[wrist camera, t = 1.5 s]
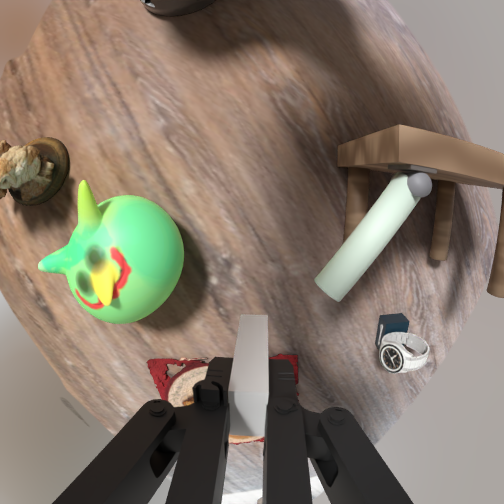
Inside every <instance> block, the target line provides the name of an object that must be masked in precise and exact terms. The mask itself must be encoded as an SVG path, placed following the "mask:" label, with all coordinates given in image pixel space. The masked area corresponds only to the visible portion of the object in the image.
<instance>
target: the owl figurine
mask: <svg viewBox="0 0 504 504" xmlns="http://www.w3.org/2000/svg"><path fill="white" fill-rule="evenodd" d="M68 158H69V157H68V153H67V150H66V148H65V146H64V144H63V143H62V142H61V141H59V140H57V139H55V138H50V137H45V138H38V139H35V140H33V141H31V142H29V143H28V144H26V145H25V146H20V145H19V146H14V147H11V146H10V145H9V144H8V143H6V140H1V141H0V199H1V198H3V197H5V195H6V193H7V188H8V190H9V192H10V194H11V196H12V197H13V198H14V199H15V200H16V201H17V202H18V203H20V204H22V205H29V206H31V205H38V204H40V203H42V202H45V201H47V200H48V199H49V198H51V197H52V196H53V195H54V194H55V193H56V192H57V191H58V190H59V188H60V187H61V186H62V184H63V182H64V178H65V176H67V173H68V167H69V162H68V161H69V159H68ZM26 203H27V204H26Z"/></svg>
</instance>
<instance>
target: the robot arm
mask: <svg viewBox="0 0 504 504" xmlns="http://www.w3.org/2000/svg"><path fill="white" fill-rule="evenodd" d="M140 1H141V2H142V4H143V5H144V6H145V7H146V8H147V9H148V10H149V11H151V12H152V13H155V14H158V15H163V16H178V15H184V14H188V13H192V12H195V11H197V10H200V9H202V8H204V7H206V6H208V5H210V4H211V3H213V2H214V1H215V0H140ZM192 390H193V399H194V403H192V404H190V405H187V406H181V407H174V406H173V405H172V404H171V403H170V402H168V401H166V400H161V399H155V400H151V401H148V402H147V403H145V404H144V405H143V406H142V407H141V408H140V409H139V411H138V412H137V413H136V414H135V415H134V416H133V417H132V418H131V419H130V420H129V422H128V423H127V424H126V425H125V426H124V427H123V428H122V429H121V430H120V431H119V433H118V434H117V435H116V436H115V437H114V438H113V439H112V440H111V442H109V444H108V445H107V446H106V447H105V448H104V449H103V450H102V451H101V452H100V453H99V454H98V456H97V457H96V458H95V459H94V460H93V461H92V462H91V463H90V464H89V465H88V466H87V467H86V468H85V469H84V470H83V471H82V473H81V474H80V475H79V476H78V477H77V478H76V479H75V480H74V481H73V482H72V483H71V484H70V485H69V486H68V487H67V489H66V490H65V491H64V492H63V493H62V494H61V495H60V496H59V497H58V498H57V499H56V500H55V501H54V502H53V503H52V504H148V502H149V501H150V499H151V498H152V497H153V495H154V494H155V492H156V491H157V489H158V488H159V486H160V485H161V483H162V482H163V480H164V479H165V477H166V476H167V474H168V473H169V471H170V470H171V468H172V467H173V465H174V464H175V462H176V461H177V464H176V467H175V471H174V474H173V478H172V481H171V485H170V489H169V492H168V496H167V499H166V503H165V504H221V501H222V494H223V486H224V478H225V471H226V463H227V455H228V448H229V434H230V435H240V436H262V437H264V449H263V456H264V458H263V497H262V504H312V494H311V485H310V476H309V467H308V458H310V460H311V463H312V465H313V467H314V469H315V471H316V473H317V475H318V477H319V480H320V482H321V484H322V486H323V488H324V490H325V492H326V494H327V496H328V498H329V500H330V503H331V504H413V502H412V501H411V499H410V498H409V496H408V495H407V493H406V492H405V491H404V489H403V488H402V486H401V485H400V483H399V482H398V480H397V479H396V478H395V476H394V475H393V473H392V472H391V470H390V469H389V468H388V466H387V465H386V463H385V462H384V460H383V459H382V457H381V456H380V455H379V453H378V452H377V450H376V449H375V447H374V446H373V444H372V443H371V441H370V440H369V438H368V437H367V436H366V434H365V433H364V431H363V430H362V428H361V427H360V425H359V424H358V422H357V421H356V419H355V418H354V417H353V415H352V414H351V413H350V412H349V411H348V410H346V409H343V408H339V407H333V408H328V409H326V410H324V411H323V412H322V413H321V414H320V413H315V412H311V411H308V410H306V409H304V408H303V407H302V406H301V405H300V404H299V403H298V400H297V392H296V384H295V376H294V369H293V365H292V364H291V362H290V361H289V360H288V359H268V315H251V314H241V317H240V323H239V329H238V335H237V341H236V347H235V353H234V358H224V357H215V358H214V359H212V360H211V361H210V362H209V365H208V369H207V372H206V376H205V379H204V380H201V381H198V382H197V383H195V384H194V386H193V387H192ZM307 457H308V458H307ZM177 459H178V460H177Z"/></svg>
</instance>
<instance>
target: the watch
mask: <svg viewBox="0 0 504 504" xmlns="http://www.w3.org/2000/svg"><path fill="white" fill-rule="evenodd" d="M408 326H409V320H408V319H407V318H406V317H405V316H404V315H403V314H402V313H399V314H389V315H380V317H379V323H378V329H377V335H376V341H375V344H376V346H377V347H378V349H379V358H380V362H381V364H382V366H383V367H384V369H385V370H386V371H388V373H393V374H395V373H399V372H400V373H407V372H408V371H414V370H417V369H420V368H421V367H423V366H424V364H425V363H426V360H427V357H428V353H429V349H430V348H429V345H428V344H427V343H426V341H425V340H424V339H422V338H421V337H419V336H417V335H415V334H412V333H410V332H409V333H407V331H408ZM404 344H406V346H407V347H409V348H412V349H413V350H415V351H417V352H418V353H421V354H422V355H421V356H417V357H412V356H413V354H412V353H410V352H409V351H407V350H406V349H405V347H404Z"/></svg>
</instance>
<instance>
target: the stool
mask: <svg viewBox="0 0 504 504" xmlns="http://www.w3.org/2000/svg"><path fill="white" fill-rule="evenodd" d="M337 167H346V168H348V185H347V202H346V216H345V228H344V239H343V244H344V242H345V241H346V240H347V239H348V237H349V236H350V235H351V234H352V232H353V231H354V230H355V228H356V227H357V226H358V225H359V223H360V222H361V221H362V219H363V218H364V217H365V215H366V214H367V210H368V197H369V180H370V170H373V171H381V172H389V173H396V172H421V173H426V174H427V175H428V176H429V177H430V179H434V180H438V186H437V200H436V211H435V220H434V229H433V236H432V243H431V250H430V257H431V258H433V259H436V260H441V261H445V260H447V254H448V248H449V242H450V235H451V227H452V219H453V210H454V199H455V185H456V183H460V184H468V185H476V186H484V187H491V188H497V189H503V192H502V205H501V215H500V223H499V231H498V237H497V244H496V250H495V255H494V260H493V265H492V270H491V274H490V279H489V283H488V287H487V292H488V293H489V294H491V295H493V296H496V297H499V298H504V154H503V153H500V152H497V151H494V150H491V149H488V148H485V147H483V146H480V145H476V144H473V143H470V142H467V141H464V140H460V139H457V138H453V137H450V136H446V135H443V134H439V133H435V132H431V131H427V130H423V129H418V128H414V127H409V126H404V125H400V124H399V125H396V126H393V127H390V128H387V129H384V130H381V131H378V132H375V133H372V134H369V135H366V136H364V137H361V138H358V139H355V140H352V141H350V142H347V143H344V144H342V145H339V146H338V155H337Z"/></svg>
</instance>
